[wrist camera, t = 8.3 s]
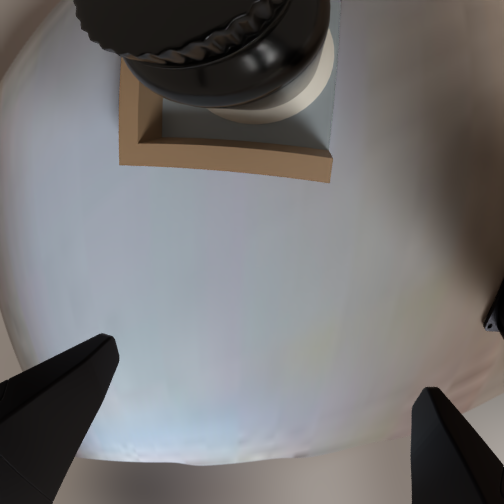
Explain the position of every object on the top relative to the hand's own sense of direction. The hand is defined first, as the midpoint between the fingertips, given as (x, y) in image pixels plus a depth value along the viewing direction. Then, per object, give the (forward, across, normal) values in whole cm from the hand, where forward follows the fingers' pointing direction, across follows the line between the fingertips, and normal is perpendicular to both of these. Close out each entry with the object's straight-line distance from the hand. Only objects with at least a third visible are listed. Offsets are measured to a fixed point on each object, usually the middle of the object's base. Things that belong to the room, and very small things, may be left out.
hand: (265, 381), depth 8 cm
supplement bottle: (+12, +3, -10) cm, 16 cm away
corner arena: (+12, +4, -9) cm, 16 cm away
